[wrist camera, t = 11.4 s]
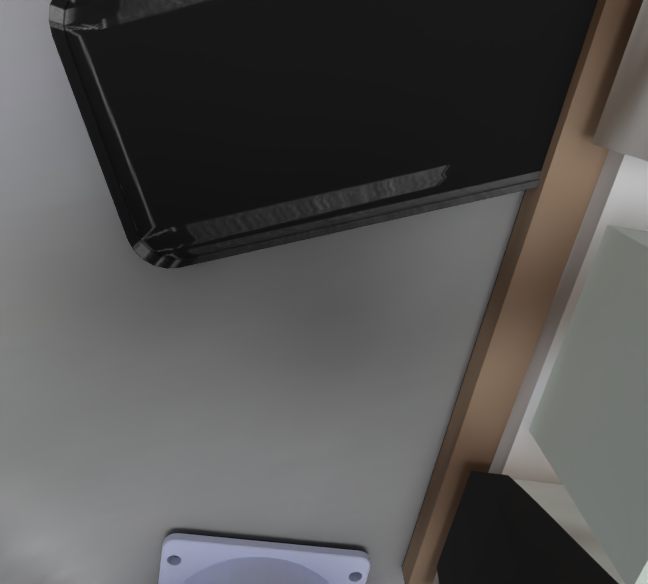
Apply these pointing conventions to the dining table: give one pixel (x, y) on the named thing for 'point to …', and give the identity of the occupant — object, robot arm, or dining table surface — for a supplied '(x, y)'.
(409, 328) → the dining table surface
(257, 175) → the phone
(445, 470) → the board
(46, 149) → the dining table surface
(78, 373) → the dining table surface
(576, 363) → the block
